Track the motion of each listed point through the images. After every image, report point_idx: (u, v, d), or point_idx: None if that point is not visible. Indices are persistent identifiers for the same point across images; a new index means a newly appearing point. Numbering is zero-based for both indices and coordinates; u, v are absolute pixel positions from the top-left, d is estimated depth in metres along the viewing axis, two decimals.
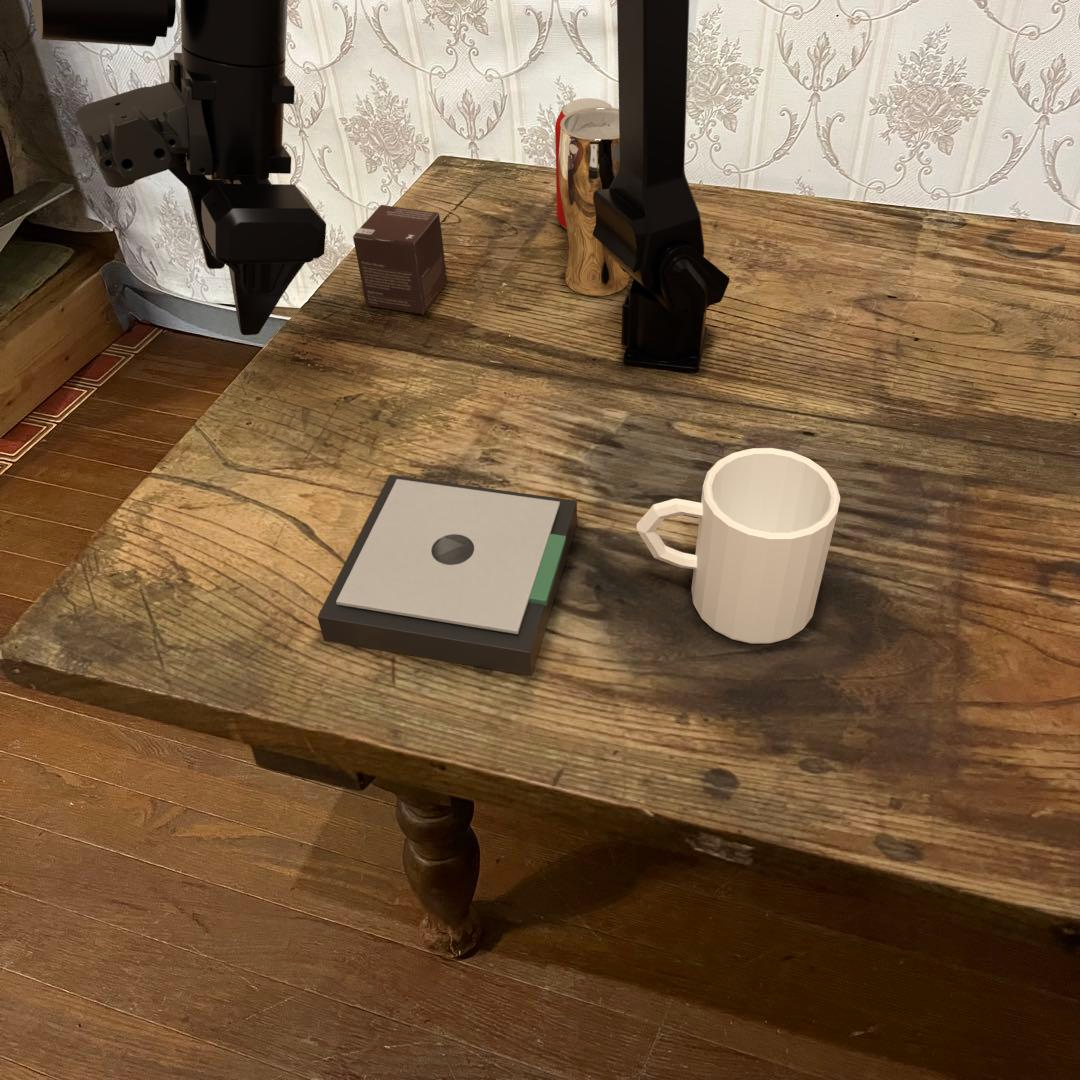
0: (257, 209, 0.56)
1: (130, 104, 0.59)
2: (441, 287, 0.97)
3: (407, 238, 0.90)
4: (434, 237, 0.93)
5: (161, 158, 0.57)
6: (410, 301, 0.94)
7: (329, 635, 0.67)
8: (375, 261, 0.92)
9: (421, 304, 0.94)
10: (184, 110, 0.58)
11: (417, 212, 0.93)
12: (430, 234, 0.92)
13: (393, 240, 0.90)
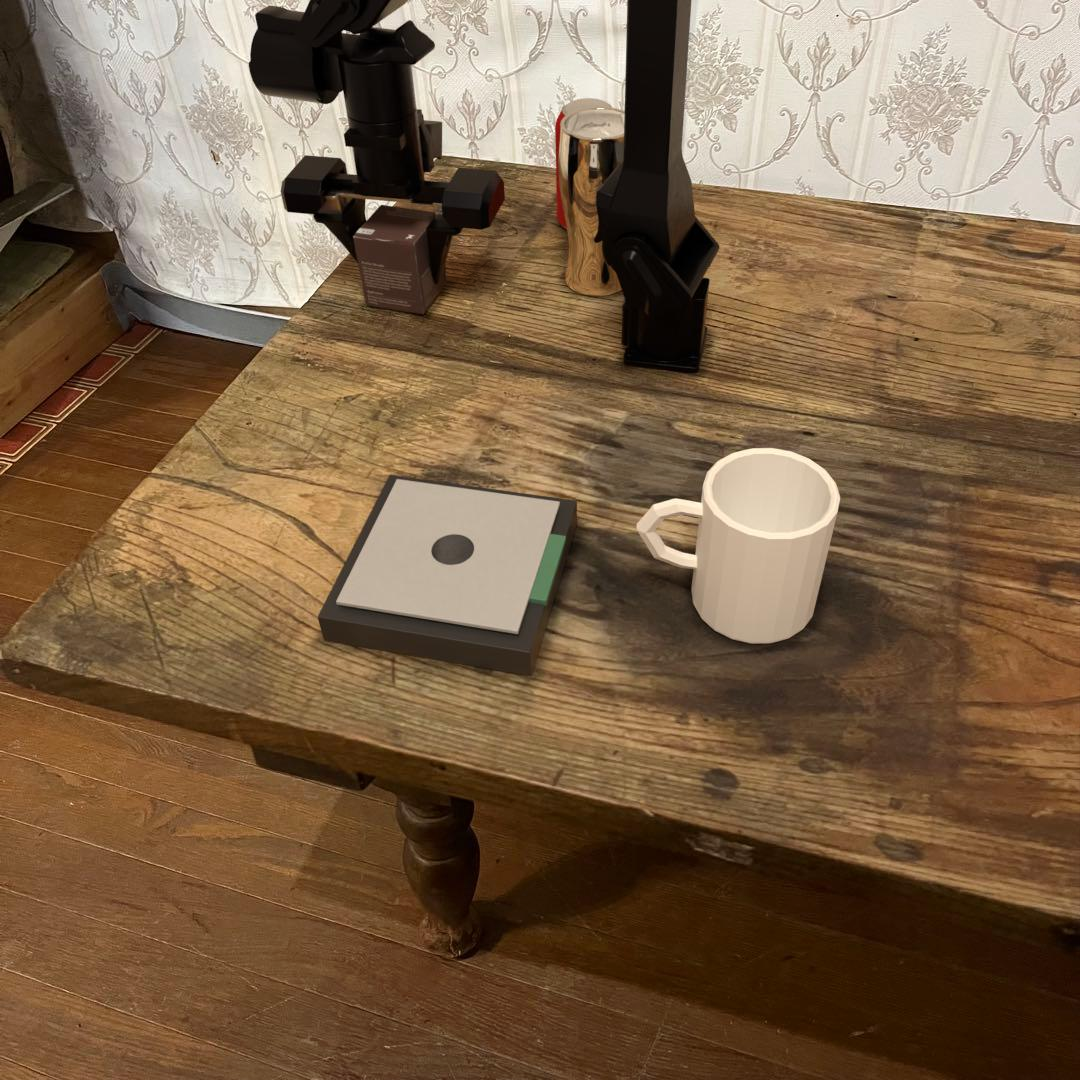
0: None
1: None
2: (441, 287, 0.97)
3: (407, 238, 0.90)
4: None
5: None
6: (410, 301, 0.94)
7: (329, 635, 0.67)
8: (375, 260, 0.92)
9: (421, 304, 0.94)
10: None
11: (417, 212, 0.93)
12: None
13: (393, 240, 0.90)
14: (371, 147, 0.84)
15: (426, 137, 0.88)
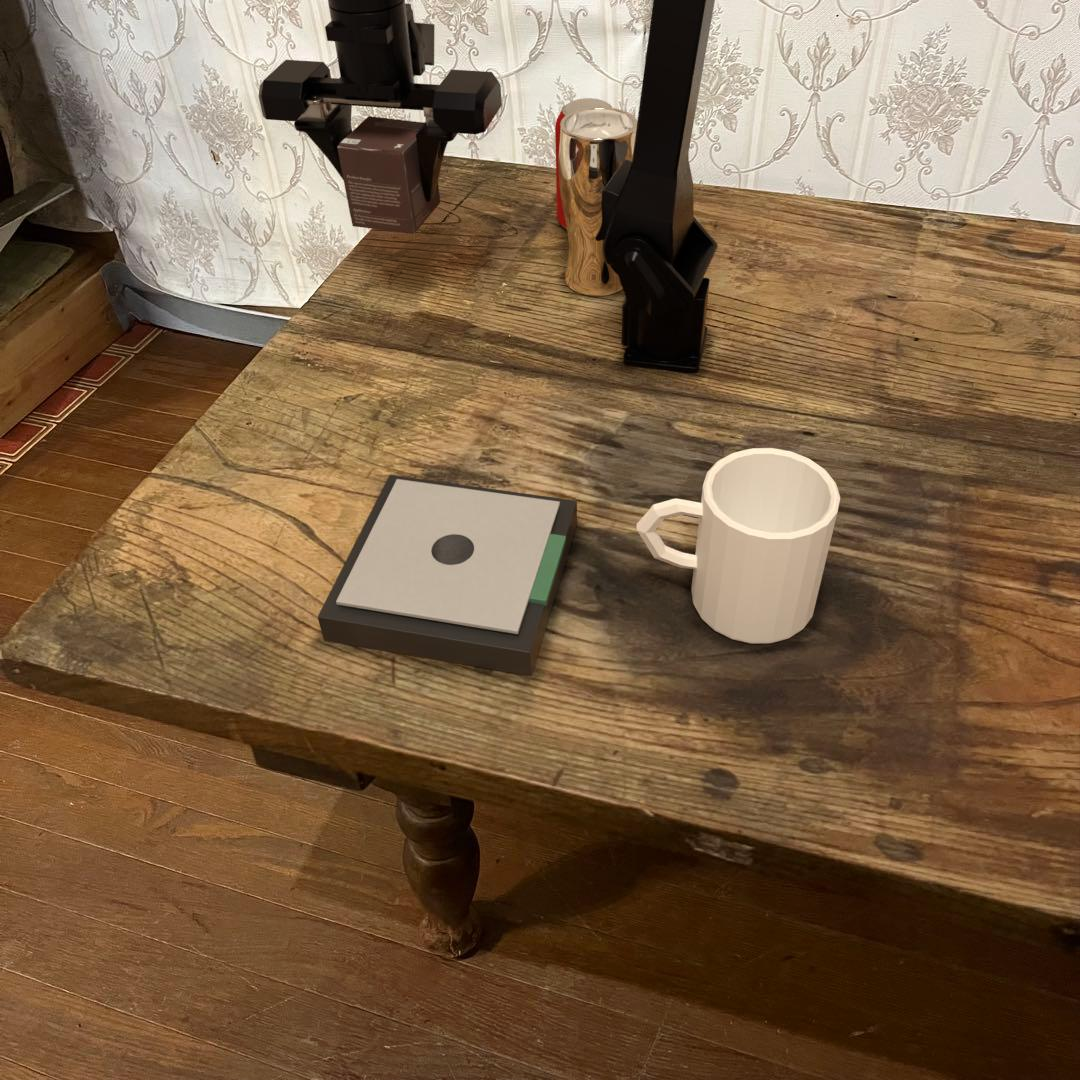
0: (278, 66, 0.84)
1: None
2: (434, 207, 0.90)
3: (395, 147, 0.83)
4: None
5: None
6: (400, 219, 0.86)
7: (329, 635, 0.67)
8: (361, 173, 0.85)
9: (411, 223, 0.86)
10: None
11: (407, 123, 0.86)
12: None
13: (381, 149, 0.83)
14: (355, 41, 0.77)
15: (416, 35, 0.81)
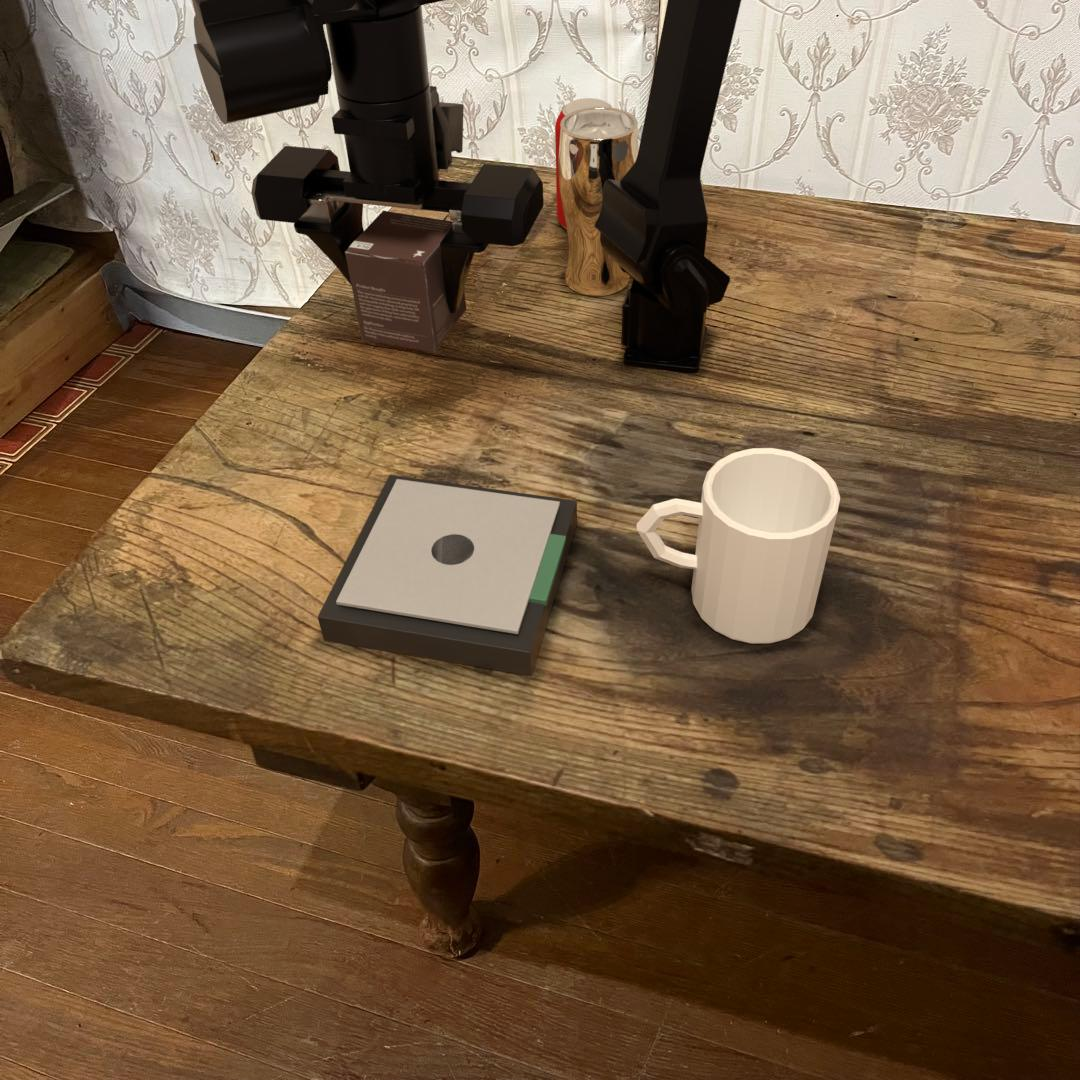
0: None
1: None
2: (458, 317, 0.76)
3: (414, 255, 0.69)
4: None
5: None
6: (418, 335, 0.72)
7: (329, 635, 0.67)
8: (373, 283, 0.71)
9: (432, 340, 0.72)
10: None
11: (429, 221, 0.72)
12: None
13: (397, 257, 0.69)
14: (369, 135, 0.63)
15: (442, 123, 0.67)
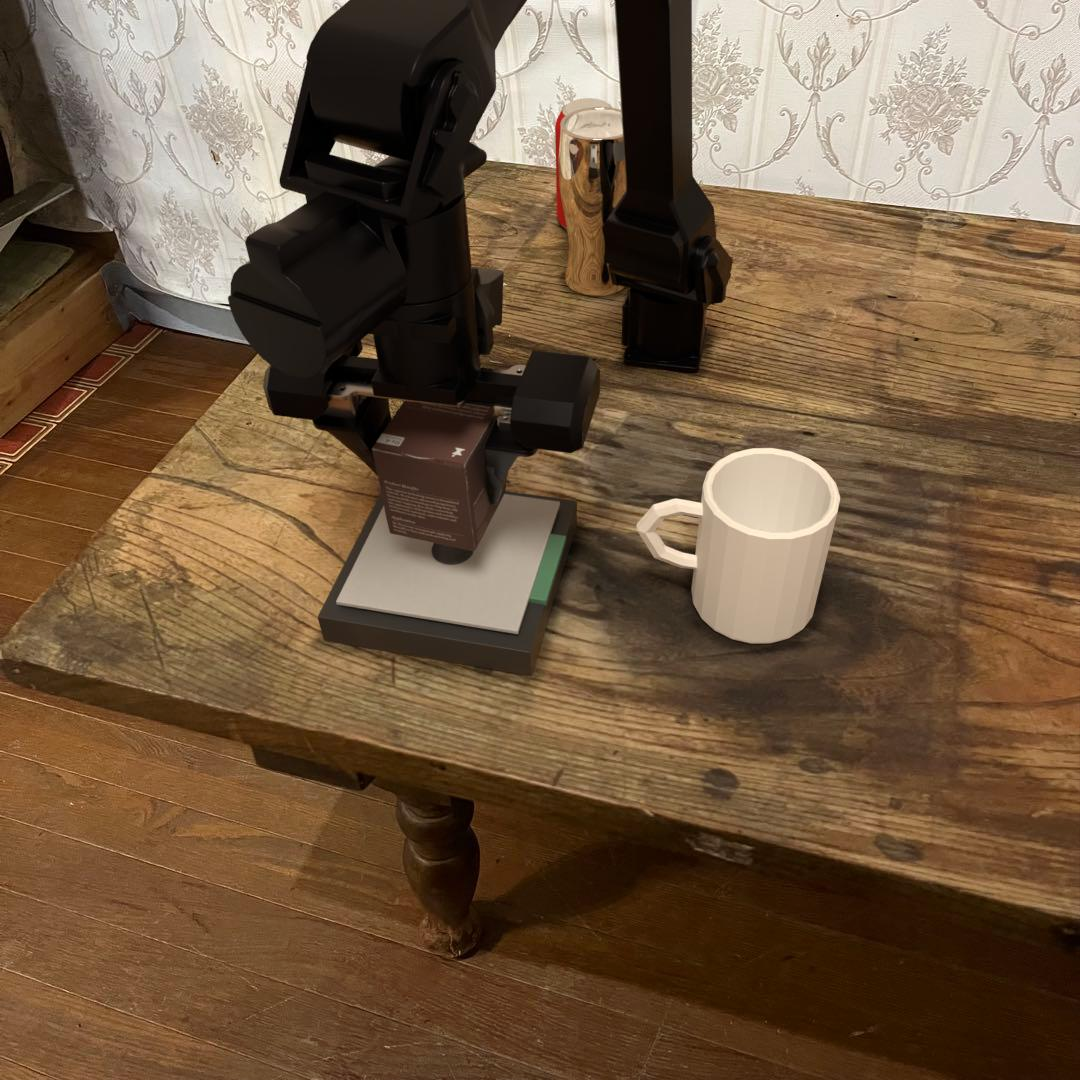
0: None
1: None
2: (498, 503, 0.67)
3: (453, 455, 0.60)
4: None
5: None
6: (456, 534, 0.63)
7: (329, 635, 0.67)
8: (405, 482, 0.61)
9: (472, 539, 0.63)
10: None
11: (466, 404, 0.63)
12: None
13: (433, 458, 0.60)
14: (403, 336, 0.54)
15: (484, 307, 0.58)
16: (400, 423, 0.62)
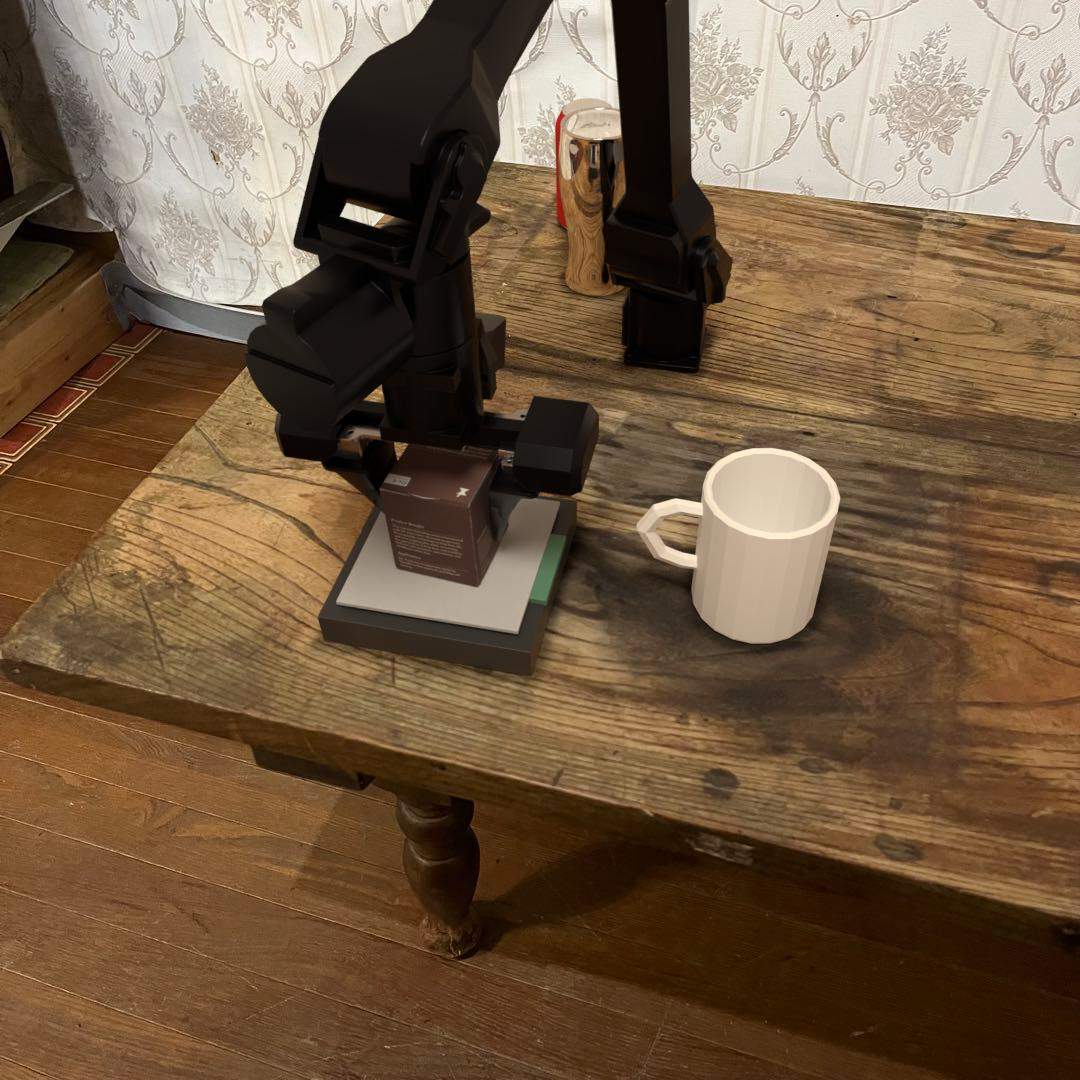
0: None
1: None
2: None
3: (458, 495, 0.62)
4: None
5: None
6: (460, 570, 0.66)
7: (329, 635, 0.67)
8: (411, 520, 0.64)
9: (475, 575, 0.66)
10: None
11: None
12: (489, 481, 0.64)
13: (439, 498, 0.62)
14: (410, 385, 0.56)
15: (488, 355, 0.60)
16: (406, 463, 0.64)
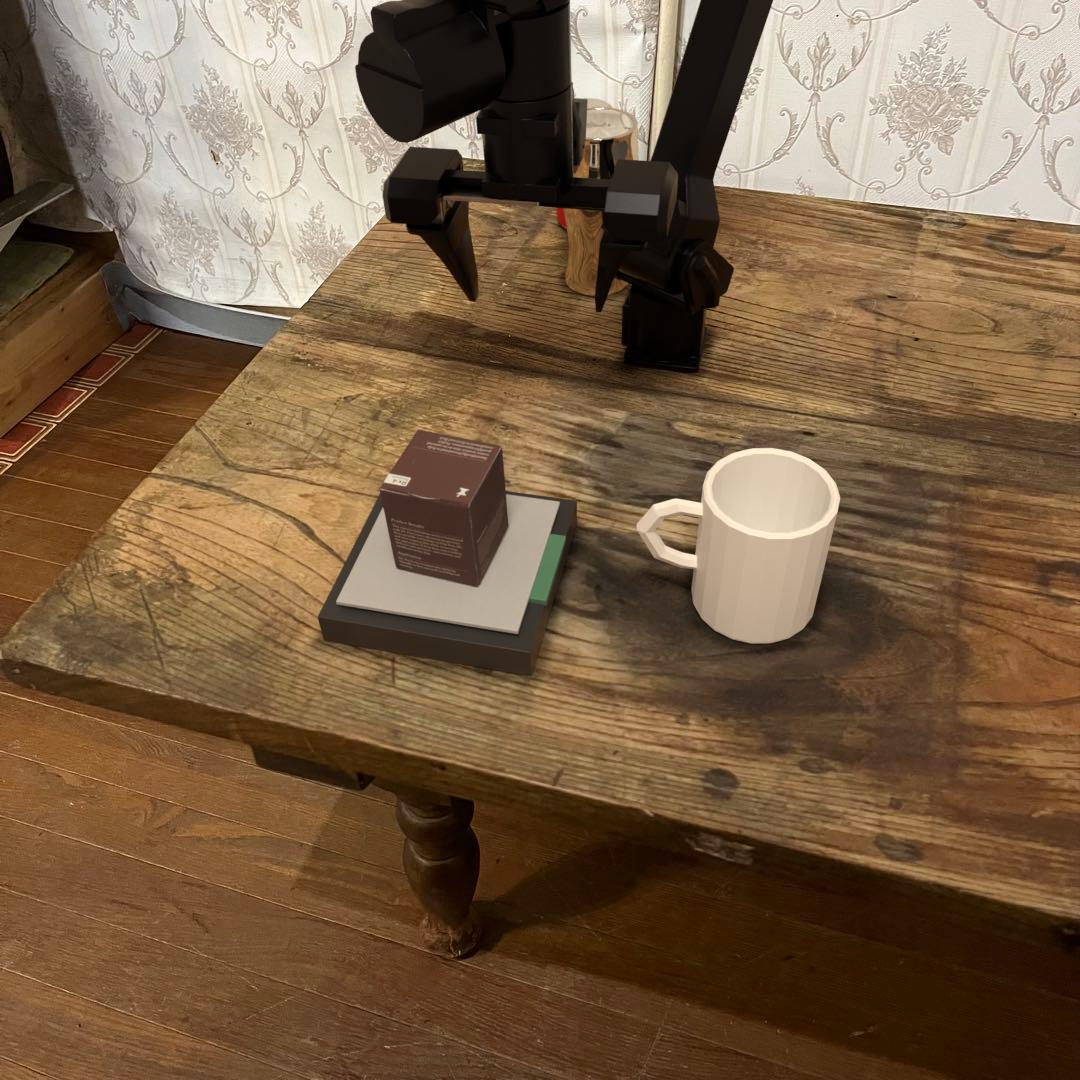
0: (403, 156, 0.69)
1: None
2: (501, 538, 0.69)
3: (458, 495, 0.62)
4: (495, 481, 0.65)
5: None
6: (460, 570, 0.66)
7: (329, 635, 0.67)
8: (411, 520, 0.64)
9: (475, 575, 0.66)
10: None
11: (470, 444, 0.65)
12: (489, 481, 0.64)
13: (439, 498, 0.62)
14: (513, 134, 0.62)
15: (577, 119, 0.66)
16: (406, 463, 0.64)
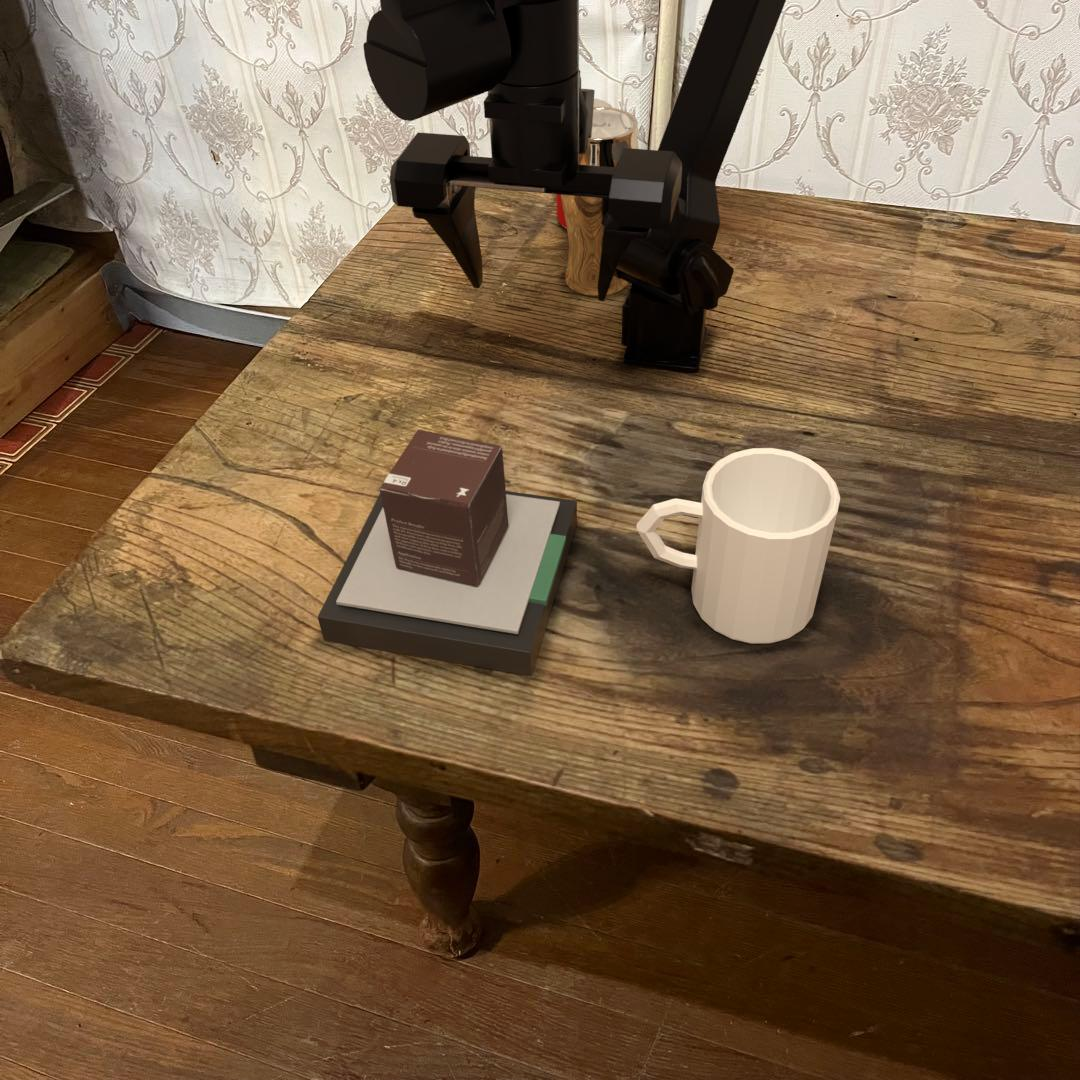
0: (411, 141, 0.70)
1: None
2: (501, 538, 0.69)
3: (458, 495, 0.62)
4: (495, 481, 0.65)
5: None
6: (460, 570, 0.66)
7: (329, 635, 0.67)
8: (411, 520, 0.64)
9: (475, 575, 0.66)
10: None
11: (470, 444, 0.65)
12: (489, 481, 0.64)
13: (439, 498, 0.62)
14: (520, 119, 0.63)
15: (583, 107, 0.67)
16: (406, 463, 0.64)
